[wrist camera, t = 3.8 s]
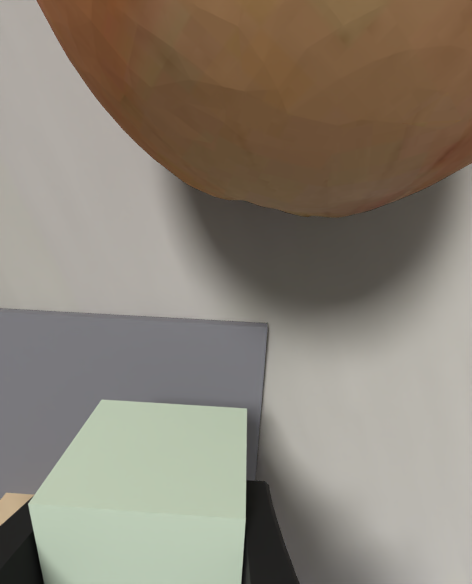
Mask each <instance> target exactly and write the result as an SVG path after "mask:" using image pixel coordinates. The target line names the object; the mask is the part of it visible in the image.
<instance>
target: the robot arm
mask: <svg viewBox="0 0 472 584" xmlns="http://www.w3.org/2000/svg"><path fill="white" fill-rule="evenodd" d="M32 498H33V497H31V498H30V499H29V500H28V501H27V502H26V503H25V504H24V505H23V506H22V507H20V508H19V509H18V510H17V511H16V512H15V513H14V514H13V515H12V516H11V517H9V518H8V519H7V520H6V521H5V522H4V523H3V524H1V525H0V584H44V580H43V575H42V570H41V565H40V561H39V556H38V551H37V546H36V541H35V536H34V531H33V526H32V521H31V516H30V511H29V506H28V503H29V502H30V501H31V499H32ZM241 584H299V581H298V579H297V576H296V573H295V571H294V568H293V565H292V563H291V560H290V557H289V554H288V552H287V549H286V546H285V543H284V540H283V537H282V534H281V531H280V528H279V525H278V522H277V518H276V515H275V511H274V508H273V504H272V500H271V495H270V490H269V485H268V484H267V483H266V482H265V481H252V480H246V522H245V536H244V551H243V565H242V580H241Z"/></svg>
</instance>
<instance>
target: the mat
mask: <svg viewBox="0 0 472 584" xmlns="http://www.w3.org/2000/svg"><path fill="white" fill-rule="evenodd" d="M267 330H268V326H267V323H253V322H236V321H218V320H200V319H182V318H164V317H146V316H128V315H110V314H92V313H74V312H56V311H38V310H20V309H2V308H0V500H1V498H2V497H3V496H4V495H5V493H17V494H32V495H35V493H36V492H37V491H38V489H39V488H40V486H41V485H42V483H43V482H44V481H45V479H46V478H47V476H48V475H49V474H50V472H51V471H52V469H53V468H54V466H55V465H56V464H57V462H58V461H59V459H60V458H61V456H62V455H63V454H64V452H65V451H66V449H67V448H68V447H69V445H70V444H71V442H72V441H73V439H74V438H75V437H76V435H77V434H78V432H79V431H80V430H81V428H82V427H83V425H84V424H85V422H86V421H87V420H88V418H89V417H90V415H91V414H92V412H93V411H94V410H95V408H96V407H97V405H98V404H99V403H100V401H101V400H118V401H134V402H150V403H167V404H183V405H199V406H216V407H232V408H247V454H246V480H252V481H255V478H256V466H257V454H258V441H259V429H260V416H261V404H262V392H263V379H264V367H265V354H266V342H267Z"/></svg>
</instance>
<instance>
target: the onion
mask: <svg viewBox="0 0 472 584" xmlns="http://www.w3.org/2000/svg"><path fill="white" fill-rule="evenodd" d="M37 2H38V4H39V6H40V8H41V10H42V11H43V13H44V15H45V17H46V19H47V21H48V23H49V24H50V26H51V28H52V30H53V32H54V34H55V36H56V38H57V39H58V41H59V43H60V45H61V46H62V48H63V50H64V51H65V53H66V55H67V57H68V58H69V60H70V61H71V63H72V64H73V66H74V67H75V69H76V70H77V72H78V73H79V75H80V76H81V77H82V79H83V80H84V82H85V83H86V85H87V86H88V87H89V89H90V90H91V92H92V93H93V94H94V96H95V97H96V98H97V100H98V101H99V102H100V104H101V105H102V106H103V107H104V108H105V109H106V111H107V112H108V113H109V114H110V115H111V116H112V117H113V119H114V120H115V121H116V122H117V123H118V124H119V125H120V127H121V128H122V129H123V130H124V131H125V132H126V133H127V134H128V135H129V136H130V137H131V138H132V139H133V140H134V141H135V142H136V143H137V144H138V145H139V146H140V147H141V148H142V149H143V150H145V151H146V152H147V153H148V154H149V155H150V156H151V157H152V158H153V159H154V160H156V161H157V162H158V163H160V164H161V165H162V166H164V167H165V168H166V169H167V170H169V171H170V172H171V173H173V174H174V175H175V176H177V177H178V178H179V179H181V180H182V181H183V182H185V183H186V184H188V185H190V186H192V187H194V188H196V189H198V190H200V191H202V192H205V193H207V194H209V195H212V196H214V197H217V198H221V199H226V200H244V201H248V202H250V203H253V204H256V205H258V206H262V207H267V208H273V209H278V210H281V211H284V212H286V213H290V214H295V215H299V216H304V217H309V216H322V217H336V218H338V217H345V216H350V215H354V214H358V213H362V212H366V211H370V210H373V209H375V208H378V207H381V206H383V205H386V204H388V203H391V202H394V201H396V200H399V199H402V198H404V197H406V196H409V195H411V194H413V193H415V192H418V191H420V190H422V189H425V188H427V187H429V186H431V185H433V184H435V183H437V182H438V181H440V180H442V179H444V178H446V177H448V176H449V175H451V174H453V173H455V172H456V171H458V170H460V169H462V168H464V167H465V166H467V165H469V164H471V163H472V0H37Z"/></svg>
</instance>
